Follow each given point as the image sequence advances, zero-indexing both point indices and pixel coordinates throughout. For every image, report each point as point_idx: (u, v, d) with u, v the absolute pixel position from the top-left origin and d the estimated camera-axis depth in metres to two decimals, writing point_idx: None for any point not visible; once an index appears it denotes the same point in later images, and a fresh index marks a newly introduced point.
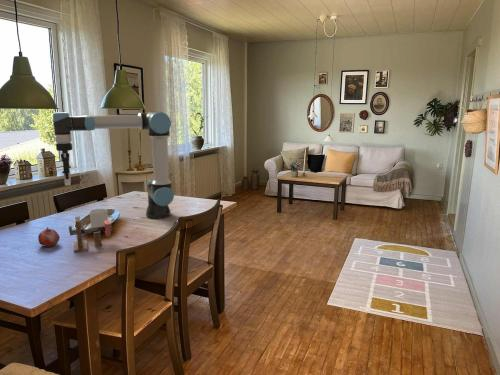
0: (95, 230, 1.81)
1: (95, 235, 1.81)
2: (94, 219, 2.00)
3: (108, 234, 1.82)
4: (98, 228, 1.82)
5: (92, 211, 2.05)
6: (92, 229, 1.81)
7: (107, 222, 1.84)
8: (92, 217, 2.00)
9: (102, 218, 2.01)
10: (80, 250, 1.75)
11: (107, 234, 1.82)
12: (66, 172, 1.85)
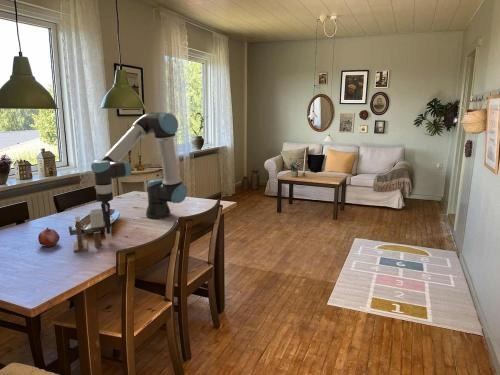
0: (95, 230, 1.81)
1: (95, 235, 1.81)
2: (94, 219, 2.00)
3: None
4: (98, 228, 1.82)
5: (92, 211, 2.05)
6: (92, 229, 1.81)
7: None
8: (92, 217, 2.00)
9: (102, 218, 2.01)
10: (80, 250, 1.75)
11: None
12: (108, 227, 1.79)
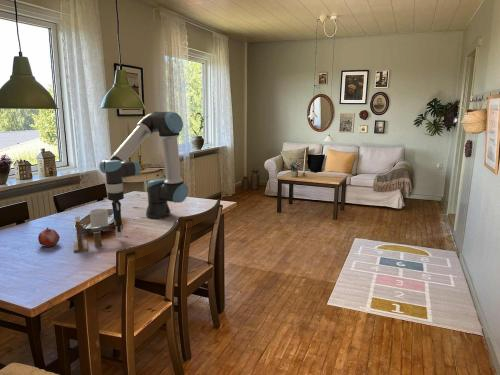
0: (106, 229, 1.83)
1: (95, 235, 1.81)
2: (94, 219, 2.00)
3: None
4: (109, 227, 1.84)
5: (92, 211, 2.05)
6: (103, 228, 1.83)
7: None
8: (92, 217, 2.00)
9: (102, 218, 2.01)
10: (80, 250, 1.75)
11: None
12: (119, 225, 1.81)
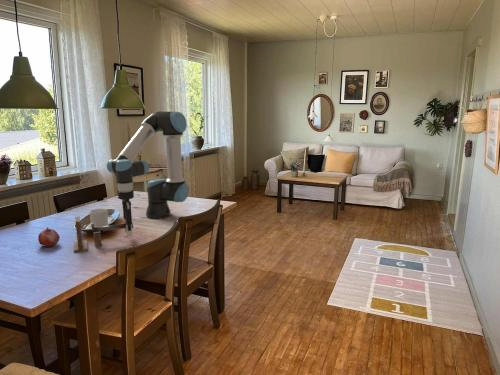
0: (116, 227, 1.86)
1: (95, 235, 1.81)
2: (94, 219, 2.00)
3: None
4: (119, 225, 1.86)
5: (92, 211, 2.05)
6: (113, 226, 1.85)
7: None
8: (92, 217, 2.00)
9: (102, 218, 2.01)
10: (80, 250, 1.75)
11: None
12: (129, 224, 1.83)
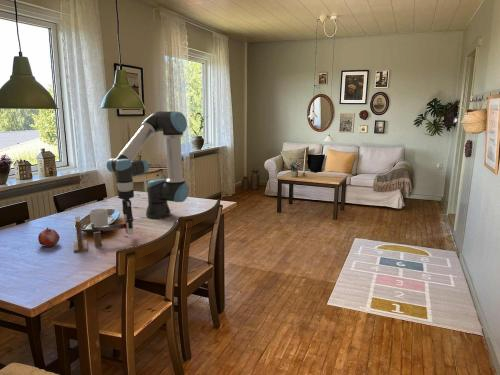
0: (116, 227, 1.86)
1: (95, 235, 1.81)
2: (94, 219, 2.00)
3: None
4: (119, 225, 1.86)
5: (92, 211, 2.05)
6: (113, 226, 1.85)
7: None
8: (92, 217, 2.00)
9: (102, 218, 2.01)
10: (80, 250, 1.75)
11: None
12: (130, 222, 1.80)
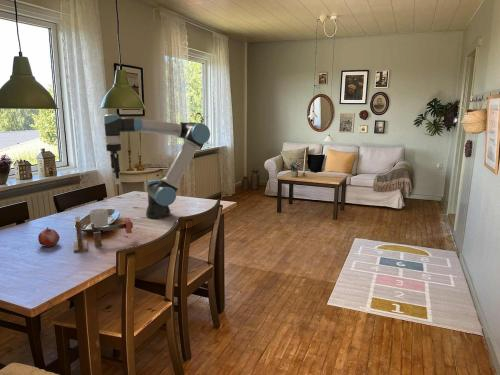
0: (116, 227, 1.86)
1: (95, 235, 1.81)
2: (94, 219, 2.00)
3: (129, 231, 1.87)
4: (119, 225, 1.86)
5: (92, 211, 2.05)
6: (113, 226, 1.85)
7: (128, 219, 1.88)
8: (92, 217, 2.00)
9: (102, 218, 2.01)
10: (80, 250, 1.75)
11: (128, 231, 1.86)
12: (117, 171, 1.94)
